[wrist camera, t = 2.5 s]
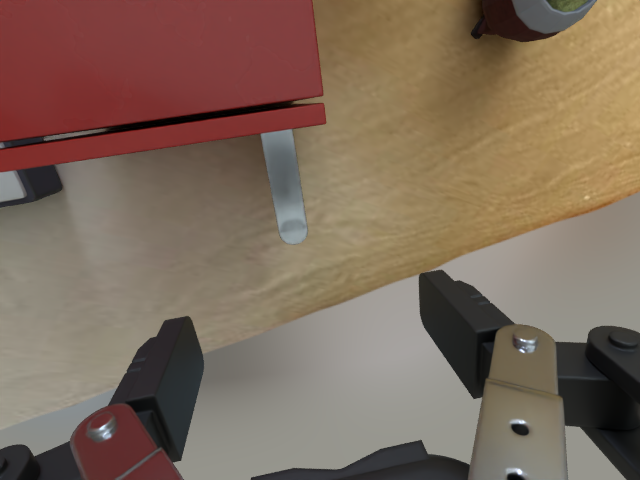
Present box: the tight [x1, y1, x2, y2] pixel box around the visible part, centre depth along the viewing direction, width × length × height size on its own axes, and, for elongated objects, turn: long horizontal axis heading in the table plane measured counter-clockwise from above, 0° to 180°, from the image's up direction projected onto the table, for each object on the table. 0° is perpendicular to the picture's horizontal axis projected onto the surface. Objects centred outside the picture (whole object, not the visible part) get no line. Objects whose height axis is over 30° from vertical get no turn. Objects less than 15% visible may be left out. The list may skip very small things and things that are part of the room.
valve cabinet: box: [0, 0, 323, 143], centre depth 19 cm, size 11×16×18 cm
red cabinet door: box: [0, 103, 326, 245], centre depth 23 cm, size 7×16×17 cm, turn 98°
